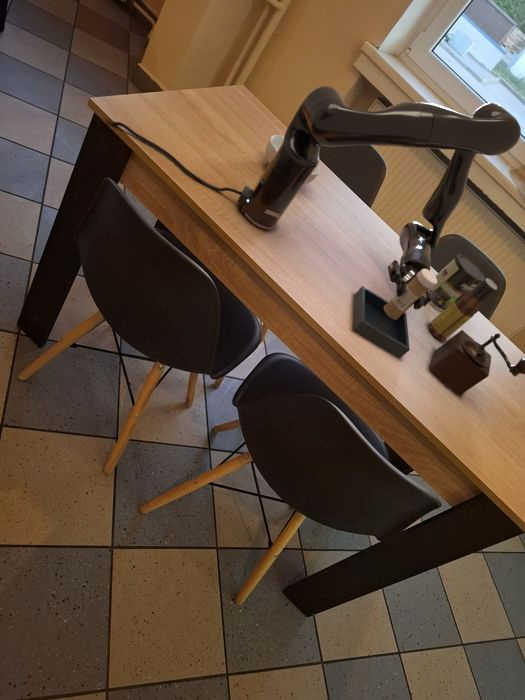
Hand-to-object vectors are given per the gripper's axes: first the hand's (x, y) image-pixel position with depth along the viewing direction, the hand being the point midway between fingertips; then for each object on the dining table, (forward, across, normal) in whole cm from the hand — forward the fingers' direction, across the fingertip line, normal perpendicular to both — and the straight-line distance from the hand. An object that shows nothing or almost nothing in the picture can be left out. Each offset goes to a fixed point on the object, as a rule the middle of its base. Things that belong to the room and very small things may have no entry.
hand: (409, 300), depth 112 cm
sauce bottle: (-19, +18, +12) cm, 29 cm away
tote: (-3, 0, +12) cm, 12 cm away
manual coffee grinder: (-4, +25, +12) cm, 28 cm away
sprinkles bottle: (-3, 0, +7) cm, 8 cm away
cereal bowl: (-41, -41, +12) cm, 60 cm away
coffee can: (-36, +17, +13) cm, 42 cm away
